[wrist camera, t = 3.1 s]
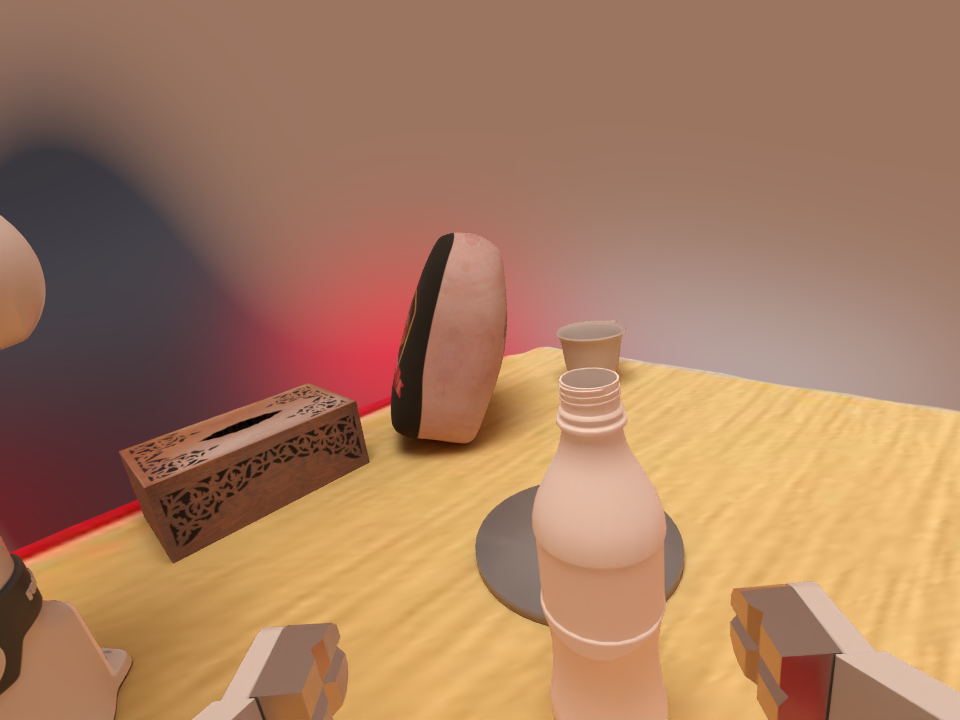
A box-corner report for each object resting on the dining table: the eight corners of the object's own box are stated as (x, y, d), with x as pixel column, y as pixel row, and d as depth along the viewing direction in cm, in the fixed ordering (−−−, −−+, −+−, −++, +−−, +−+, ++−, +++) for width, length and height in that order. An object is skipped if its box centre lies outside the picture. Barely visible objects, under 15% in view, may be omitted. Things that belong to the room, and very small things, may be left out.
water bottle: (538, 702, 35) (498, 371, 27) (627, 667, 36) (614, 346, 29) (585, 816, 28) (551, 421, 20) (693, 768, 30) (699, 385, 22)
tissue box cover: (174, 565, 55) (144, 488, 52) (145, 518, 65) (118, 451, 62) (369, 464, 71) (355, 401, 68) (322, 439, 81) (308, 383, 78)
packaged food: (401, 409, 89) (369, 240, 79) (508, 392, 90) (489, 224, 80) (393, 471, 68) (349, 252, 59) (532, 449, 69) (510, 230, 60)
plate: (442, 600, 45) (440, 589, 44) (514, 480, 62) (513, 472, 62) (679, 657, 37) (679, 645, 36) (686, 501, 54) (686, 492, 53)
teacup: (647, 371, 91) (646, 319, 88) (604, 400, 81) (601, 343, 78) (591, 362, 99) (588, 314, 96) (546, 387, 90) (541, 335, 87)
